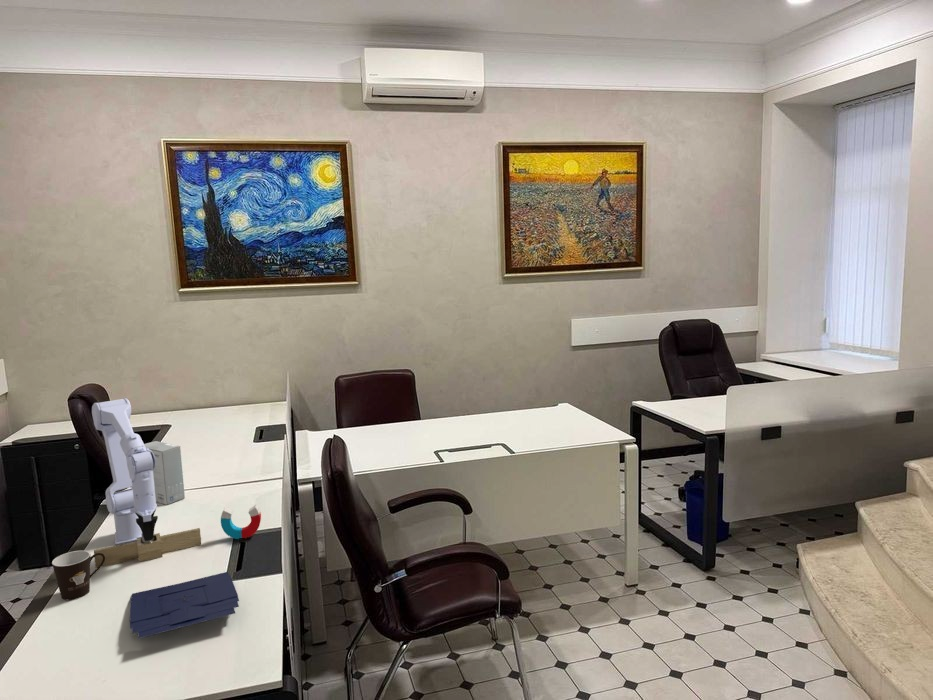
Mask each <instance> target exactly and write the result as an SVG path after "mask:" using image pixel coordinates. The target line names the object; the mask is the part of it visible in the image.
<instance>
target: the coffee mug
mask: <svg viewBox="0 0 933 700" xmlns="http://www.w3.org/2000/svg"><path fill="white" fill-rule="evenodd" d="M97 555H101V556H102V557H103V560H102V562H101V564H100V565H99V567H98V568H95V570H94V571H92V573H91V563H92V560H93V559H95V558H94V557H95V556H97ZM104 561H105V556H104V554H102V553H96V554H94V553H93V555H91V552H90V551H88V550H74V551H69V552H66V553H63V554H60V555H58V556H56V557H55V558H54V559H52V562H51V565H52V569H53V572H54V575H55V576H54V577H55V580H56V583H57V586H58V590H59V594H60V597H61V599H62V600H65V601H73V600H78V599H80V598H83V597H85V596H86V595H88V594H89V593H90V590H91V588H90V587H91V585H90V583H91V578H92V577H93V576H94V575H95V574H96V573H97V572H98V571H99V570H100V569H101V568H102V567H101V566H102V565H103V563H104Z"/></svg>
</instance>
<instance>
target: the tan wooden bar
mask: <svg viewBox="0 0 933 700" xmlns="http://www.w3.org/2000/svg"><path fill="white" fill-rule="evenodd" d="M201 536H202V535H201V528H200V527H198V528H192V529H189V530H182V531H179V532H174V533H169V534H165V535H161V533H160V532H158V533H154V536H153V539H154V541H152V542H147V543H142V537H138V538H137V540H135V541H131V542H126V543H121V544H115V545H112V546H106V547H103V548H98V549H94V550H93V555H94V554H96V553H102V554H104V556H105V561H104V563H103V565H102V566H101V568H102V567H107V566H111V565H115V564H119V563H124V562H130V561H134V560H138V563H143V562H146V561H151V560H154V559H159V558H163V554H166V553H170V552H175V551H179V549H180V550H184V549H188V548H192V547H198V546H202V537H201ZM93 559H94V566H95V567H94V568H95V569H97V568H98V567H99V565H100V564H101V562H102V560H103V557H102V556H101V555H97V556H95V557H94V558H93Z"/></svg>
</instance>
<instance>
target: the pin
mask: <svg viewBox="0 0 933 700" xmlns="http://www.w3.org/2000/svg"><path fill="white" fill-rule="evenodd" d="M152 541H154V539H153V540H148V541H145V540H144V537H143V534H142V543H147V542H152Z"/></svg>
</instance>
